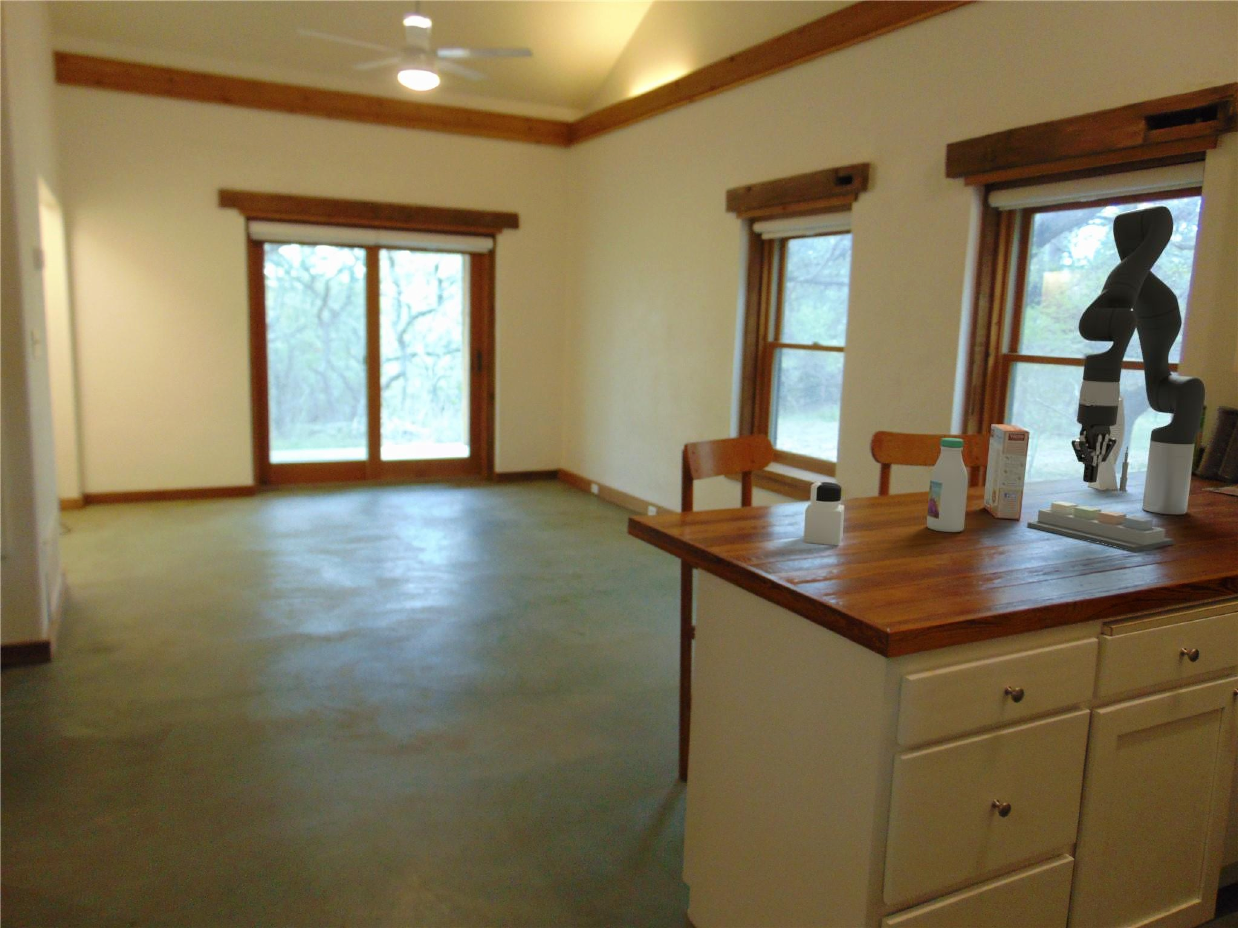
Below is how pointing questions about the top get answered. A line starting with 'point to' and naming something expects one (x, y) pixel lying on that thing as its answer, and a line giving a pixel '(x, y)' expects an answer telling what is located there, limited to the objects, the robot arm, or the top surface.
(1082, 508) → the key sage
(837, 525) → the medicine bottle
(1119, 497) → the top surface
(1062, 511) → the key ivory
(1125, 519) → the key slate
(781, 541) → the top surface
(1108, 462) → the skyscraper
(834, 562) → the top surface
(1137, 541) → the keypad
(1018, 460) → the cracker box
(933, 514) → the milk bottle
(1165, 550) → the top surface
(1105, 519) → the block
